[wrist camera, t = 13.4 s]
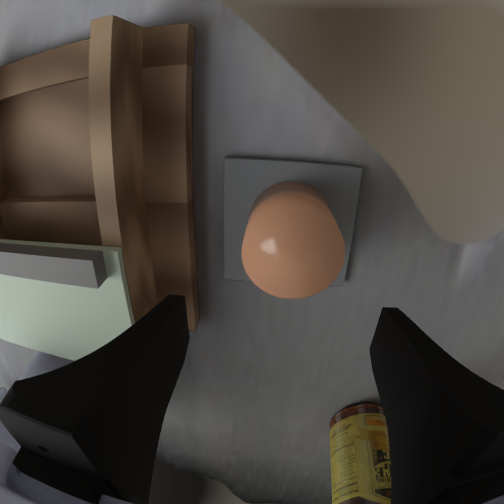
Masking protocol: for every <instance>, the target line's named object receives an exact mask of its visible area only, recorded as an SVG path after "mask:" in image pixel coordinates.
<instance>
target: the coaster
mask: <svg viewBox="0 0 504 504" xmlns="http://www.w3.org/2000/svg"><path fill="white" fill-rule="evenodd" d="M361 175H362V168H361V167H360V166H353V165H344V164H334V163H323V162H311V161H299V160H284V159H268V158H246V157H225V158H224V279H226V280H240V281H252V280H251V279H250V278H249V276H248V275H247V273H246V271H245V269H244V266H243V262H242V255H241V254H242V244H243V239H244V235H245V231H246V227H247V223H248V219H249V215H250V211H251V208H252V205H253V203H254V201H255V200H256V198H257V197H258V196H259V195H260V194H261V193H262V192H263V191H264V190H265V189H267V188H268V187H270V186H272V185H274V184H277V183H280V182H285V181H296V182H301V183H305V184H308V185H310V186H312V187H313V188H315V189H316V190H318V191H319V192H320V193H321V194H322V195H323V196H324V198H325V199H326V201H327V202H328V205H329V207H330V209H331V211H332V213H333V216H334V218H335V220H336V223H337V225H338V227H339V229H340V232H341V234H342V236H343V239H344V243H345V259H344V263H343V266H342V269H341V271H340V273H339V274H338V276H337V277H336V279H335V280H334V281H333V282H332V283H331V284H330V285H329V286H342V287H343V286H344V281H345V276H346V270H347V265H348V260H349V254H350V248H351V243H352V237H353V231H354V224H355V218H356V211H357V205H358V198H359V190H360V183H361Z"/></svg>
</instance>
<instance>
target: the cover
mask: <svg viewBox="0 0 504 504" xmlns="http://www.w3.org/2000/svg"><path fill="white" fill-rule="evenodd" d="M133 324H135V320H134V315H133V310H132V305H131V300H130V295H129V290H128V285H127V279H126V273H125V268H124V262H123V255H122V249H121V247H107V246H93V245H78V244H63V243H49V242H34V241H20V240H6V239H0V339H3V340H6V341H9V342H12V343H15V344H18V345H21V346H24V347H27V348H30V349H34V350H37V351H40V352H44V353H47V354H51V355H54V356H58V357H62V358H66V359H69V360H73V361H76V360H78V359H80V358H82V357H84V356H86V355H88V354H90V353H92V352H94V351H95V350H97V349H99V348H100V347H102V346H104V345H105V344H107V343H108V342H110V341H111V340H113V339H114V338H116V337H117V336H119V335H120V334H121V333H123V332H124V331H125V330H127V329H128V328H129V327H131V326H132V325H133Z"/></svg>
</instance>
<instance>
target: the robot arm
mask: <svg viewBox="0 0 504 504" xmlns="http://www.w3.org/2000/svg"><path fill="white" fill-rule="evenodd" d="M188 343H189V329H188V319H187V309H186V298H185V296H183V295H172V294H169V295H168V296H167V297H165V298H164V299H163V300H162V301H161V302H159V303H158V304H157V305H156V306H155V307H154V308H153V309H151V310H150V311H149V312H148V313H147V314H146V315H144V316H143V317H142V318H141V319H139V320H138V321H137V322H136V323H135V324H133V325H132V326H131V327H129V328H128V329H127V330H125V331H124V332H123V333H121V334H120V335H119V336H117V337H116V338H114V339H113V340H111V341H110V342H108V343H107V344H105V345H104V346H102V347H100V348H99V349H97V350H95V351H94V352H92V353H90V354H88V355H86V356H84V357H82V358H80V359H78V360H76V361H73V360H69V359H66V358H62V357H58V356H54V355H51V354H47V353H44V352H40V351H39V353H38V354H37V355H36V357H35V358H34V359H33V361H32V362H31V364H30V365H29V366H28V368H27V369H26V370H25V372H24V373H23V375H22V376H21V378H20V379H19V380H18V381H15V382H14V384H13V385H12V387H11V388H10V389H9V391H8V390H7V389H6V388H5V387H2V388H0V504H148V503H149V494H150V487H151V479H152V473H153V467H154V461H155V456H156V451H157V446H158V441H159V437H160V432H161V428H162V424H163V419H164V416H165V413H166V409H167V406H168V404H169V401H170V398H171V396H172V393H173V390H174V388H175V385H176V382H177V380H178V377H179V374H180V372H181V369H182V366H183V363H184V360H185V356H186V352H187V347H188ZM370 356H371V363H372V370H373V374H374V378H375V382H376V385H377V389H378V393H379V396H380V400H381V404H382V407H383V411H384V415H385V419H386V424H387V430H388V438H389V447H390V461H391V504H504V390H503V389H500V388H499V387H497V386H495V385H493V384H491V383H489V382H488V381H486V380H484V379H483V378H481V377H479V376H478V375H476V374H475V373H473V372H471V371H470V370H469V369H467V368H466V367H465V366H463V365H462V364H460V363H459V362H458V361H456V360H455V359H454V358H453V357H451V356H450V355H449V354H448V353H447V352H445V351H444V350H443V349H442V348H441V347H440V346H438V345H437V344H436V343H435V342H434V341H433V340H432V339H431V338H430V337H429V336H427V335H426V334H425V333H424V332H423V331H422V330H421V329H420V328H419V327H418V326H417V325H416V324H415V323H414V322H413V321H412V320H411V319H410V318H408V317H407V316H406V315H405V314H404V313H403V312H402V311H401V310H399V309H398V308H386V307H383V308H382V311H381V314H380V318H379V321H378V324H377V327H376V330H375V333H374V337H373V340H372V343H371V346H370Z"/></svg>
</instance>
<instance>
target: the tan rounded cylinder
mask: <svg viewBox="0 0 504 504" xmlns="http://www.w3.org/2000/svg"><path fill="white" fill-rule="evenodd" d="M241 255H242V262H243V266H244V269H245V271H246V273H247V275H248V276H249V278H250V279H251V280H252V282H253V283H254V284H255V285H256V286H258V287H259V288H260V289H262V290H263V291H265V292H267V293H269V294H271V295H273V296H277V297H280V298H286V299H299V298H305V297H308V296H312V295H314V294H317V293H319V292H320V291H322V290H324V289H325V288H327V287H328V286H329V285H330V284H331V283H332V282H333V281H334V280H335V279H336V277H337V276H338V274H339V273H340V271H341V269H342V266H343V263H344V259H345V243H344V239H343V236H342V234H341V232H340V229H339V227H338V225H337V223H336V220H335V218H334V216H333V213H332V211H331V209H330V207H329V205H328V202H327V201H326V199H325V198H324V196H323V195H322V194H321V193H320V192H319V191H318V190H316V189H315V188H313V187H312V186H310V185H308V184H305V183H301V182H296V181H285V182H280V183H277V184H274V185H272V186H270V187H268V188H267V189H265V190H264V191H263V192H262V193H261V194H260V195H259V196H258V197H257V198H256V200H255V201H254V203H253V205H252V208H251V211H250V215H249V219H248V223H247V227H246V231H245V235H244V239H243V244H242V254H241Z"/></svg>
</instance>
